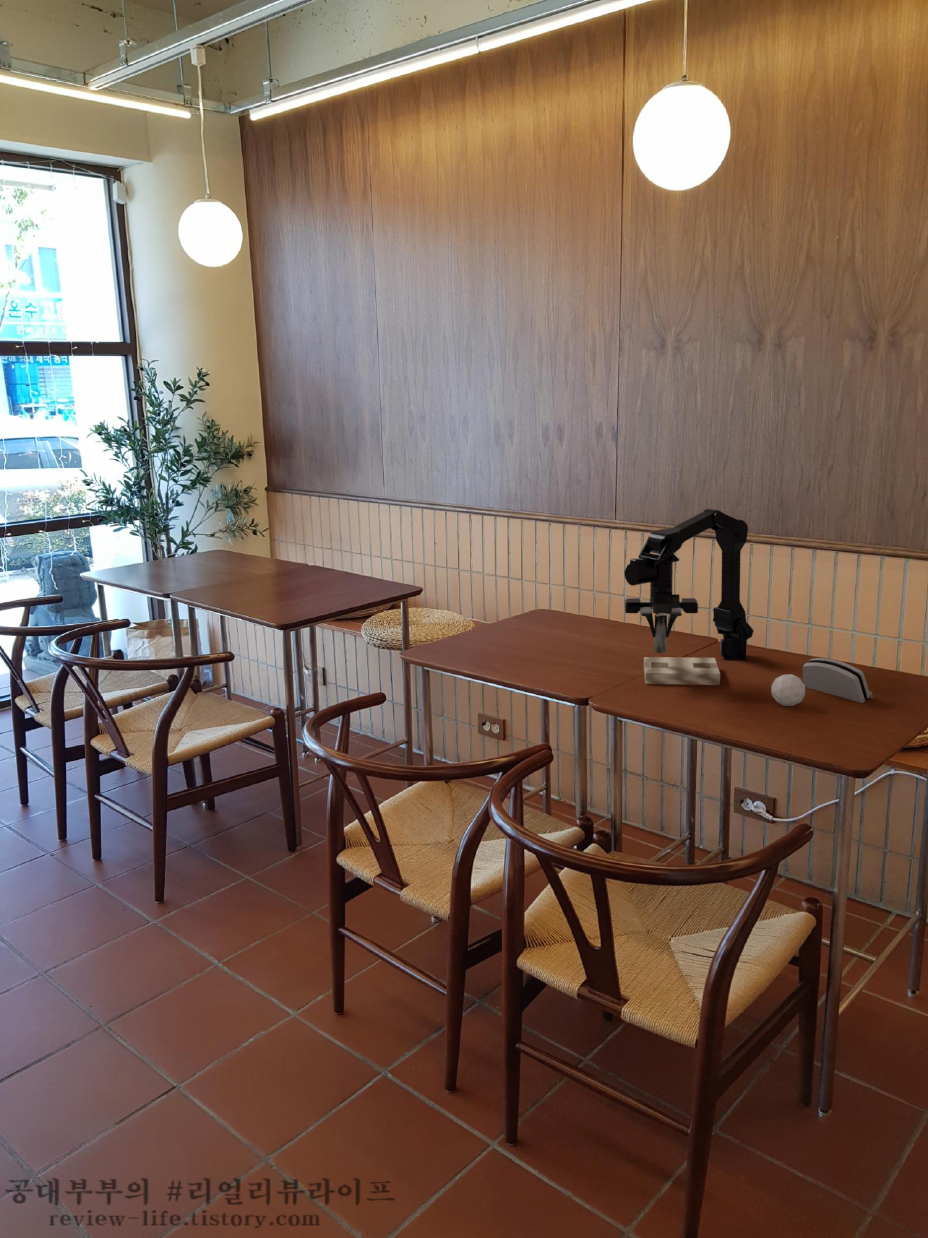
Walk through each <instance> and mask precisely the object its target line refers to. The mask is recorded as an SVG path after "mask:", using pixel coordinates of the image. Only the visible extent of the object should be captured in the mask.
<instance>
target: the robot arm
mask: <svg viewBox="0 0 928 1238" xmlns="http://www.w3.org/2000/svg"><path fill="white" fill-rule="evenodd" d="M709 529H710V530H712V531H714V532H715V539H716V543H717V544H718V546H719V549H721V586H720V587H721V594H720V595H721V598H720V599H721V601H720V602H719V604H718V606H717V607H715V606H714V607H713V610H712V613H713V619H712V622H714V626H715V627H716V631H717V634H719V635H722V638H721V639H720V641H719V642H720V643H719V644H720V645H719V646H720V647H719V649H720V650H719V653H720V656H722V658H723V660H748V656H747V647H748V646H747V645H748V640H750V638H752V637H753V634H754V629H753V628H752V626H751V625H750V624H749V623H748V622H747V615H746V611H745V607H743V604H742V603H741V552H742V549H743V548H744V546H745V544H746V543H747V541H748V532H749V527H748V523H747V522H745V520H743V519H739V518H735V517H733V516H730V515H728V514H726V513H724V512H723V511H721V510H718V509H712V508H706V509H703V510H702V511H701V512H700V513H698V514H697V515H695V516H693V517H690V518H689V519H687V520H684V521H683V522H681V523H679V524H677V525H675V526H674V527H673V526H672V527H670V528H669V527H668V528H660V529H658V530H654V531H652V532H650V533H649V535H648V536H647V539H646V541H645V544H643V547H642V549H641V551H640V552H639V554H638V556H637V557H638V558H630V560H629V563H628V564H627V565H626V566H625V570H624V573H623V574H624V578H625V580H626V582H627V584H628V585H630V586H632V587H633V586H638V585H643V584H648V583H649V584H650V585H649V587H650V588H649V601H641V598H639V597H638V598H635V597H633V598H629V597H627V598H626V599H625V600H624V608H625V609H624V612H625V613H626V614H638V613H640V616H641V617H645V619H646V621H647V623H648V625H649V628H650V631H651V634H652V638H654V637H655V622H654V617H653V615H656V614H666V615H667V638H669V636H670V634H671V631H672V628H673V626H674V623H675V622H676V619H677V618H678V617H681V616H682V615H683V613H682V612H684V613H685V614H698V613H699V603H698V600H697V599H696V598H695V597H694V598H693V597H691V598H690V597H689V598H686V597H681V600H680V594H673V578H674V577H673V575H674V574H673V573H674V571H673V569H674V568H673V567H674V565H673V564H674V563H677V562H680V558H678V556H676V554H675V553H676V552H678V551H680V549H682V546H683V544H684V543H685V542H686V541H689V540H690V539H693V538H694V537H696V536H698V535H699V534H701V533H703V532H705V531H707V530H709Z"/></svg>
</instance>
